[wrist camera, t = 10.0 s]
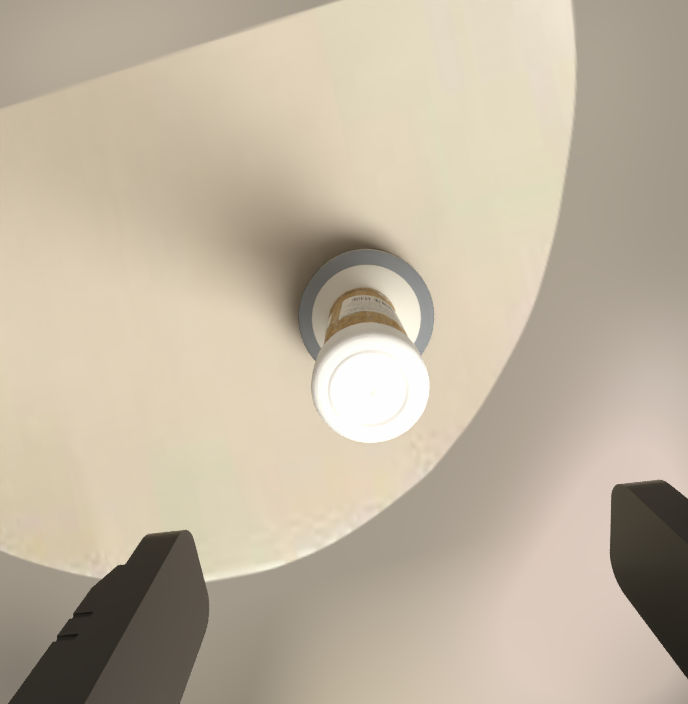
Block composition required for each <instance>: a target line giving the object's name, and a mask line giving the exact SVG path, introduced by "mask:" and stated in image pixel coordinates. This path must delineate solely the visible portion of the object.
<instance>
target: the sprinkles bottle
mask: <svg viewBox="0 0 688 704" xmlns="http://www.w3.org/2000/svg"><path fill="white" fill-rule="evenodd" d="M311 391H312V398H313V402H314V405H315V407H316V410H317V412H318V413H319V415H320V417H321V418H322V419H323V421H324V422H325V423H326V424H327V425H328V426H329V427H330V428H331V429H332V430H333V431H335V432H336V433H338V434H340V435H341V436H343V437H346V438H348V439H351V440H354V441H359V442H367V443H373V442H381V441H386V440H389V439H392V438H394V437H397V436H399V435H400V434H402V433H404V432H405V431H407V430H408V429H409V428H411V427H412V426H413V424H414V423H415V422H416V421H417V420H418V419H419V417H420V416H421V414H422V413H423V411H424V409H425V406H426V403H427V400H428V396H429V377H428V373H427V369H426V366H425V363H424V361H423V359H422V357H421V355H420V353H419V351H418V349H417V348H416V346H415V345H414V343H413V342H412V341H411V340H410V339H409V337H408V335H407V333H406V331H405V329H404V327H403V325H402V323H401V321H400V320H399V318H398V316H397V314H396V311H395V309H394V306H393V304H392V303H391V301H390V300H389V299H388V298H387V297H386V296H385V295H384V294H382V293H380V292H379V291H376V290H374V289H371V288H355V289H352V290H350V291H346V292H345V293H344V294H342V295H341V296H339V297H338V298H337V299H336V301H335V302H334V304H333V306H332V307H331V309H330V314H329V319H328V323H327V327H326V332H325V337H324V345H323V347H322V348H321V350H320V351H319V353H318V356H317V358H316V361H315V365H314V369H313V375H312V383H311Z"/></svg>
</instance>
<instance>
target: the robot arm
mask: <svg viewBox="0 0 688 704" xmlns="http://www.w3.org/2000/svg"><path fill="white" fill-rule="evenodd" d="M610 559H611V565H612V569H613V572H614V575H615V578H616V580H617V582H618V584H619V586H620V588H621V590H622V591H623V593H624V594H625V595H626V597H627V598H628V600H629V601H630V602H631V604H632V605H633V606H634V608H635V609H636V610H637V612H638V613H639V614H640V616H641V617H642V618H643V620H644V621H645V622H646V624H647V625H648V626H649V628H650V629H651V630H652V632H653V633H654V635H655V636H656V637H657V638H658V640H659V641H660V643H661V644H662V645H663V647H664V648H665V649H666V651H667V652H668V653H669V654H670V656H671V657H672V659H673V660H674V661H675V663H676V664H677V665H678V667H679V668H680V669H681V671H682V672H683V673H684V675H685V676H686V677H687V678H688V499H687V498H686V497H685V496H683V495H682V494H681V493H680V492H678V491H677V490H676V489H675V488H674V487H672V486H671V485H670V484H668V483H667V482H665V481H663V480H654V481H644V482H635V483H626V484H617V485H616V486H615V487H614V488H613V490H612V495H611V536H610ZM208 617H209V598H208V593H207V589H206V585H205V581H204V577H203V573H202V569H201V566H200V562H199V558H198V554H197V550H196V546H195V542H194V539H193V536H192V534H191V533H190V532H189V531H188V530H181V531H172V532H163V533H154V534H148V535H146V536H145V537H144V538H143V539H142V540H141V542H140V543H139V545H138V546H137V548H136V549H135V551H134V552H133V554H132V555H131V557H130V558H129V560H128V561H127V563H126V564H125V565H118V566H117V567H115V568H114V569H113V570H112V571H111V572H110V573H109V574H107V575H106V576H105V577H104V578H103V579H102V580H100V581H99V582H98V583H97V584H96V585H95V586H94V587H92V588H91V590H90V591H89V592H88V594H87V595H86V597H85V598H84V600H83V601H82V602H81V604H80V605H79V606H78V608H77V609H76V611H75V612H74V613H73V618H72V619H69V620H68V622H67V623H66V624H65V626H64V627H63V628H62V630H61V631H60V633H59V634H58V635H57V641H56V642H52V644H51V645H50V646H49V648H48V650H47V651H46V652H45V653H44V655H43V656H42V658H41V659H40V660H39V662H38V663H37V665H36V666H35V667H34V669H33V670H32V671H31V673H30V674H29V676H28V677H27V678H26V680H25V681H24V683H23V684H22V685H21V687H20V688H19V689H18V691H17V692H16V694H15V695H14V696H13V698H12V699H11V701H10V702H9V703H8V704H180V701H181V698H182V696H183V693H184V690H185V687H186V685H187V682H188V679H189V676H190V673H191V671H192V668H193V665H194V662H195V660H196V657H197V654H198V651H199V649H200V646H201V643H202V640H203V637H204V635H205V632H206V628H207V624H208Z"/></svg>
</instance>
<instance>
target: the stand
mask: <svg viewBox="0 0 688 704" xmlns="http://www.w3.org/2000/svg"><path fill="white" fill-rule="evenodd" d="M355 288H371V289H374V290H376V291H379V292H380V293H382V294H384V295H385V296H386V297H387V298H388V299H389V300H390V301H391V303H392V304H393V306H394V309H395V311H396V314H397V316H398V318H399V320H400V321H401V323H402V325H403V327H404V329H405V331H406V333H407V335H408V337H409V339H410V340H411V341H412V342H413V343H414V345H415V346H416V348H417V349H418V351H419V353H420V355H422V354H423V352H424V350H425V349H426V347H427V345H428V343H429V340H430V338H431V334H432V330H433V324H434V308H433V302H432V298H431V295H430V292H429V290H428V288H427V286H426V284H425V282H424V281H423V279H422V278H421V276H420V275H419V274H418V273H417V272H416V271H415V270H414V269H413V268H412V267H411V266H410V265H409V264H407V263H406V262H404V261H403V260H401V259H400V258H398V257H397V256H395V255H393V254H391V253H388V252H385V251H382V250H377V249H355V250H350V251H347V252H344V253H341V254H339V255H337V256H335V257H333V258H332V259H330V260H329V261H328V262H326V263H325V264H324V265H323V266H322V267H321V268H320V269H319V270H318V271H317V272H316V273H315V275H314V276H313V277H312V278H311V280H310V281H309V283H308V285H307V286H306V288H305V291H304V293H303V295H302V299H301V302H300V308H299V328H300V332H301V337H302V339H303V342H304V345H305V346H306V348H307V350H308V352H309V353H310V355H311V356H312V358H313V359H314V360H315V361H316V358H317V356H318V353H319V351H320V350H321V348H322V347H323V345H324V337H325V332H326V327H327V323H328V319H329V314H330V309H331V307H332V306H333V304H334V302H335V301H336V299H337V298H338V297H339V296H341V295H342V294H344V293H345V292H346V291H350V290H352V289H355Z"/></svg>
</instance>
